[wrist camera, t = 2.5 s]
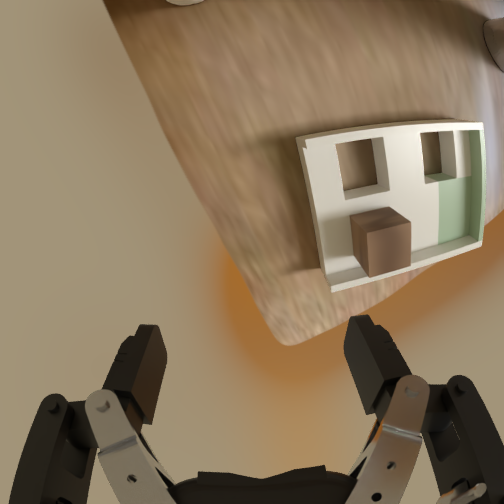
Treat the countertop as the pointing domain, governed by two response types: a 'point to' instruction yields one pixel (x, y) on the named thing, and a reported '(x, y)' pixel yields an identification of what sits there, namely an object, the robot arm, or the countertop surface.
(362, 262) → the walnut block
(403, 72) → the countertop surface
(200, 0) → the water bottle
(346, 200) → the track
